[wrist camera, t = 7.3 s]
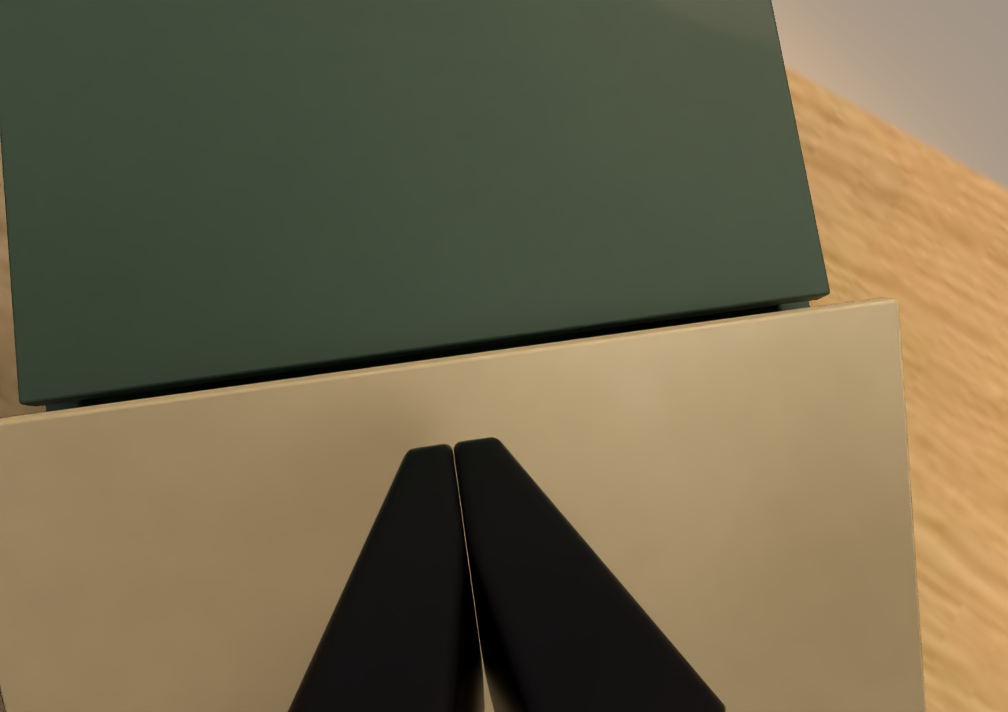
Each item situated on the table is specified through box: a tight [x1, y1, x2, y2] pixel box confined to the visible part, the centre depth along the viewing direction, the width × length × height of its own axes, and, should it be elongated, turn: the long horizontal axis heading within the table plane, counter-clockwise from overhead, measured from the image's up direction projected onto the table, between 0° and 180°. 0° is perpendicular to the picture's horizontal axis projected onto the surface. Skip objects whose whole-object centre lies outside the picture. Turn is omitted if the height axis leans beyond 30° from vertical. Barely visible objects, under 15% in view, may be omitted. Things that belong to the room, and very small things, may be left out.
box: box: [0, 0, 830, 412], centre depth 16 cm, size 13×11×9 cm
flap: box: [0, 298, 926, 712], centre depth 10 cm, size 6×11×1 cm, turn 98°
